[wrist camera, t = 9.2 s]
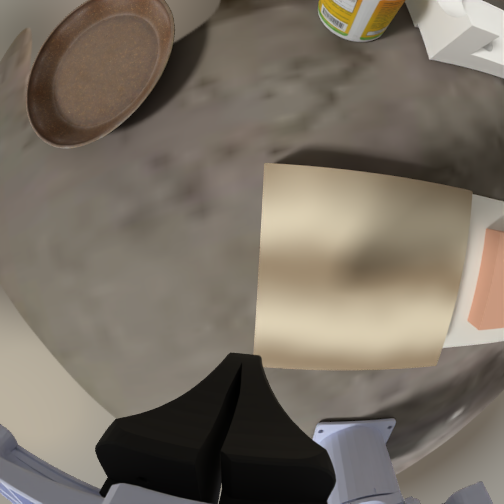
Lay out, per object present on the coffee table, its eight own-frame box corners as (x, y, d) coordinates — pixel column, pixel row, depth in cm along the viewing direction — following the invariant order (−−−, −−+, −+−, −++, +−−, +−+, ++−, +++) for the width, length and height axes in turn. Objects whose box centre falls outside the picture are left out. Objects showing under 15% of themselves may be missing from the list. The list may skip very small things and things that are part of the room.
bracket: (424, 63, 16) (472, 25, 9) (401, -2, 15) (432, -49, 7) (522, 89, 15) (570, 75, 7) (502, 29, 13) (541, 6, 6)
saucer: (218, 75, 18) (209, 60, 15) (72, 185, 21) (51, 186, 18) (145, -21, 16) (134, -36, 13) (32, 74, 19) (15, 69, 16)
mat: (511, 338, 20) (513, 339, 19) (426, 347, 21) (427, 348, 20) (538, 211, 17) (540, 212, 17) (455, 190, 18) (457, 190, 18)
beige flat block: (421, 347, 21) (436, 365, 18) (256, 344, 22) (253, 366, 19) (450, 189, 18) (472, 190, 15) (266, 167, 19) (264, 162, 16)
